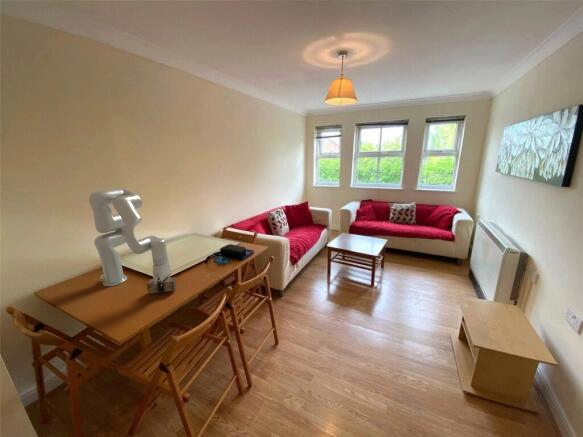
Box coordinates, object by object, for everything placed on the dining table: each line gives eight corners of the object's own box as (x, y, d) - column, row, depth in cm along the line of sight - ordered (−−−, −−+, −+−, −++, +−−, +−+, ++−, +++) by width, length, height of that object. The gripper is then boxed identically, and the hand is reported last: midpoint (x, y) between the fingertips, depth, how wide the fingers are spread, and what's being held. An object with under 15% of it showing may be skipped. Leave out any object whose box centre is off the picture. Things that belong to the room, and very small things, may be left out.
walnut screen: (148, 293, 135) (146, 283, 134) (151, 288, 140) (149, 279, 139) (174, 290, 139) (173, 281, 137) (176, 286, 143) (175, 277, 142)
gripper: (162, 253, 143) (166, 280, 148) (144, 266, 126) (149, 296, 131) (174, 253, 143) (178, 280, 148) (158, 267, 126) (162, 297, 131)
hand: (164, 287), depth 139 cm, fingers closed on walnut screen, 5 cm apart
